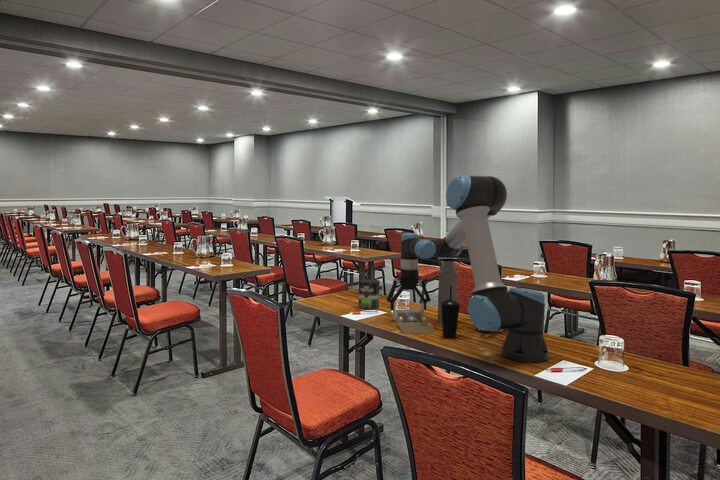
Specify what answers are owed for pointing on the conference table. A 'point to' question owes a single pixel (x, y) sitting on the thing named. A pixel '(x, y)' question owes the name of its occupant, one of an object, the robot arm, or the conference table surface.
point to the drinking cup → (450, 316)
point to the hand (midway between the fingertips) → (408, 317)
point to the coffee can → (369, 294)
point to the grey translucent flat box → (415, 326)
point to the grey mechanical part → (409, 315)
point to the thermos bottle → (446, 283)
